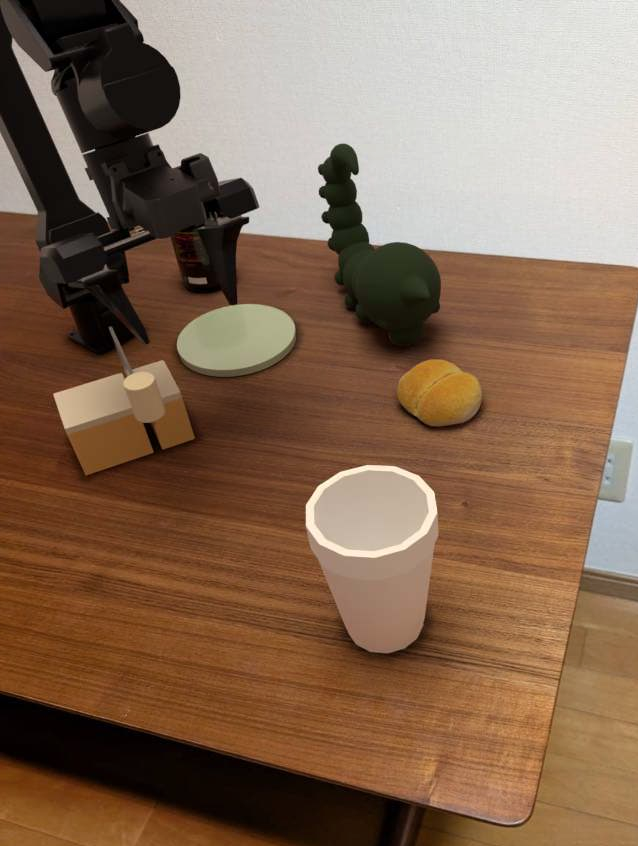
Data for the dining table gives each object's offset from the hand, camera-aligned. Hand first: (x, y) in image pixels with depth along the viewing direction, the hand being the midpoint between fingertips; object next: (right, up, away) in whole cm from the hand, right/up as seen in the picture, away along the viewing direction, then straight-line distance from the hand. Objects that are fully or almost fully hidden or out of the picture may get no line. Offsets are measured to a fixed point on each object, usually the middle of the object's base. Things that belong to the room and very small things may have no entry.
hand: (191, 323), depth 76 cm
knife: (-5, -8, +4) cm, 10 cm away
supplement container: (-6, +14, +33) cm, 36 cm away
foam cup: (+18, -27, -8) cm, 33 cm away
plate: (0, +4, +22) cm, 23 cm away
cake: (-11, -10, +10) cm, 18 cm away
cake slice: (-5, -8, +12) cm, 15 cm away
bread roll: (+23, -6, +12) cm, 27 cm away
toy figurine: (+17, +7, +25) cm, 31 cm away
